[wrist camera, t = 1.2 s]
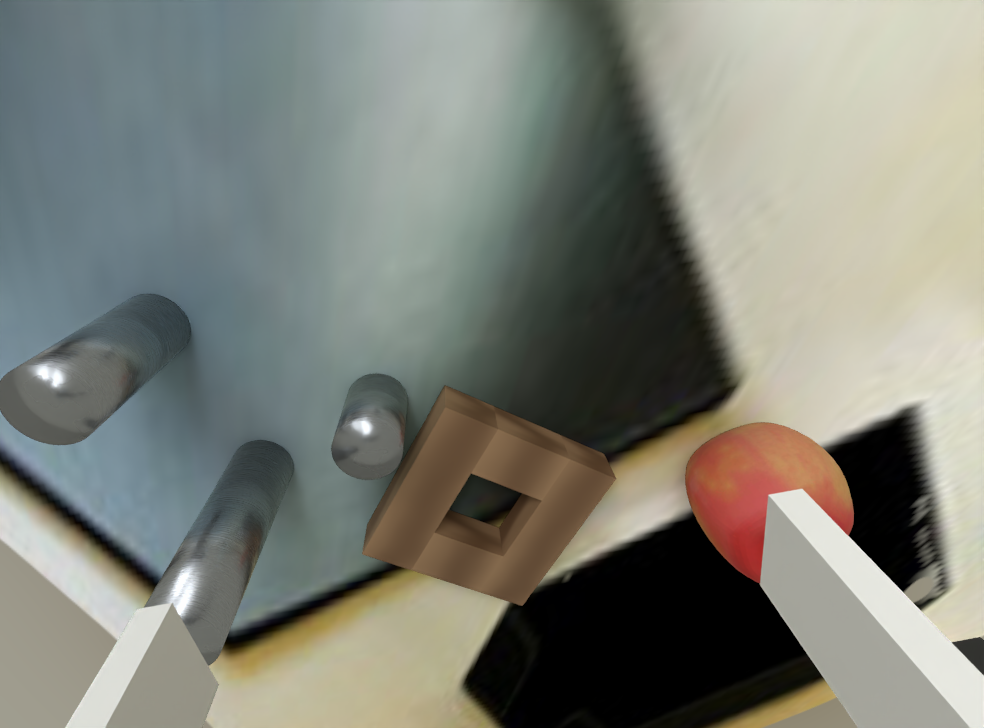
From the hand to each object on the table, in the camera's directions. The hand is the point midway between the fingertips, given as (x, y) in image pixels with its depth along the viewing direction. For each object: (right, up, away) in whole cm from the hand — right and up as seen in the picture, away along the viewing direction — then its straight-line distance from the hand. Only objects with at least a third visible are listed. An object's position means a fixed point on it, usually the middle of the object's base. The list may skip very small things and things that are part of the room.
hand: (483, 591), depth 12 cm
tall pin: (-16, -2, +25) cm, 30 cm away
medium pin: (-20, +7, +21) cm, 30 cm away
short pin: (-7, +3, +24) cm, 26 cm away
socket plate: (0, -4, +28) cm, 28 cm away
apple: (+18, -1, +29) cm, 34 cm away
